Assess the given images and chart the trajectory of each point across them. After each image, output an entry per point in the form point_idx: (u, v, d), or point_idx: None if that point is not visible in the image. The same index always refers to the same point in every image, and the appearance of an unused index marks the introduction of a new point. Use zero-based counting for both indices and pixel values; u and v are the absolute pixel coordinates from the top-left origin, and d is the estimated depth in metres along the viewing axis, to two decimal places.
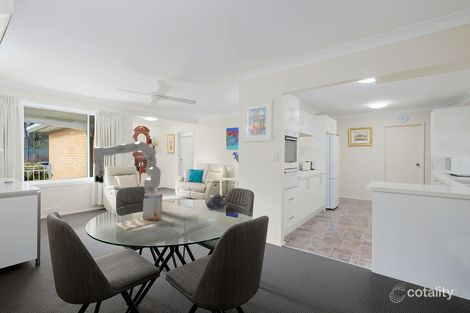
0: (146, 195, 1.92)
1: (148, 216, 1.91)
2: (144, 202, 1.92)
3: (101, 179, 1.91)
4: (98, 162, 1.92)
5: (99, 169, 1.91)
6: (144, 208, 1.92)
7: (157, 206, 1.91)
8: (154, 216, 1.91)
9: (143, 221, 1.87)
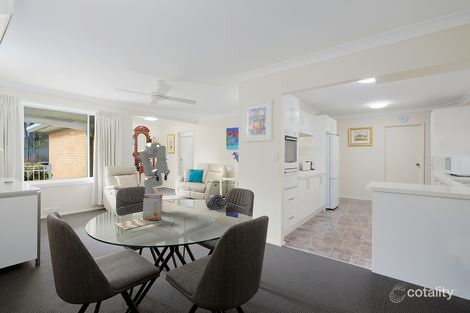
0: (146, 195, 1.92)
1: (148, 216, 1.91)
2: (144, 202, 1.92)
3: None
4: (165, 160, 2.01)
5: None
6: (144, 208, 1.92)
7: (157, 206, 1.91)
8: (154, 216, 1.91)
9: (143, 221, 1.87)
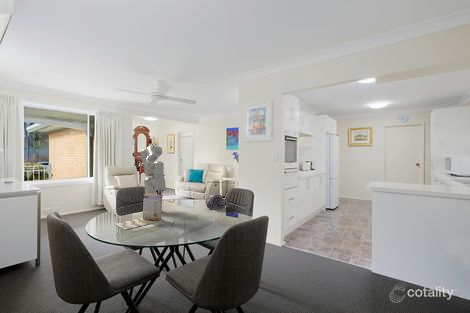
0: (146, 195, 1.91)
1: (148, 216, 1.91)
2: (144, 202, 1.91)
3: None
4: (163, 176, 2.00)
5: None
6: (144, 208, 1.91)
7: (157, 207, 1.90)
8: (154, 216, 1.90)
9: (143, 221, 1.87)
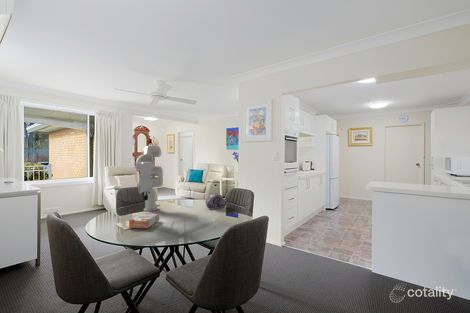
0: (132, 227, 1.71)
1: None
2: None
3: None
4: (150, 177, 1.91)
5: None
6: None
7: None
8: None
9: None
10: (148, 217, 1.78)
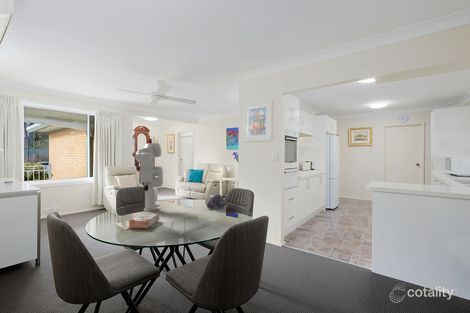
0: (132, 227, 1.71)
1: None
2: None
3: None
4: (150, 168, 1.91)
5: None
6: None
7: None
8: None
9: None
10: (148, 217, 1.78)
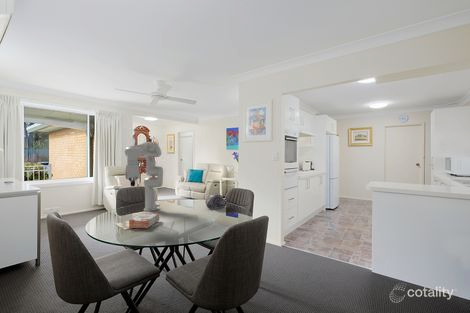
0: (132, 227, 1.71)
1: None
2: None
3: None
4: (137, 163, 1.87)
5: None
6: None
7: None
8: None
9: None
10: (148, 217, 1.78)
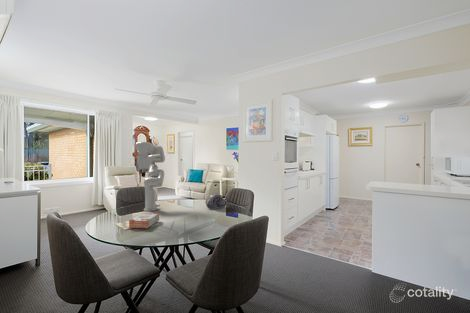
0: (132, 227, 1.71)
1: None
2: None
3: None
4: (147, 156, 2.07)
5: None
6: None
7: None
8: None
9: None
10: (148, 217, 1.78)
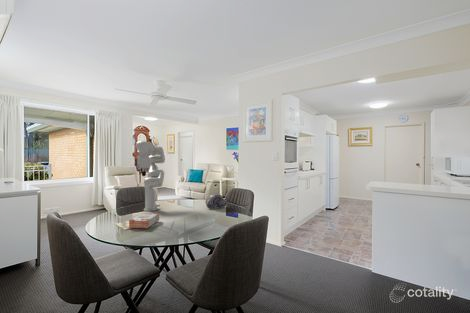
0: (132, 227, 1.71)
1: None
2: None
3: None
4: (148, 155, 2.08)
5: None
6: None
7: None
8: None
9: None
10: (148, 217, 1.78)
